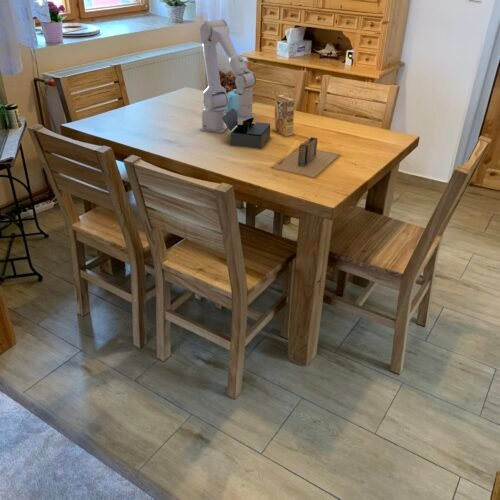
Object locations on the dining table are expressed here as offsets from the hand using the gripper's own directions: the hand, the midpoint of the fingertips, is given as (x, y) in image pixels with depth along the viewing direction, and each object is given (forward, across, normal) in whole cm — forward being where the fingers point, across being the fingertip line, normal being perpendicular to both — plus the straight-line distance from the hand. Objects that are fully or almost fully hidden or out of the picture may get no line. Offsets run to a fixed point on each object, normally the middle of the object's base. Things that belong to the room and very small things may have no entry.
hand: (244, 136), depth 208 cm
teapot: (+2, +40, +16) cm, 43 cm away
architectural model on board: (+2, -14, -29) cm, 32 cm away
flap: (-7, 0, +6) cm, 9 cm away
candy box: (+2, +15, -13) cm, 20 cm away
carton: (+2, 0, -3) cm, 3 cm away
